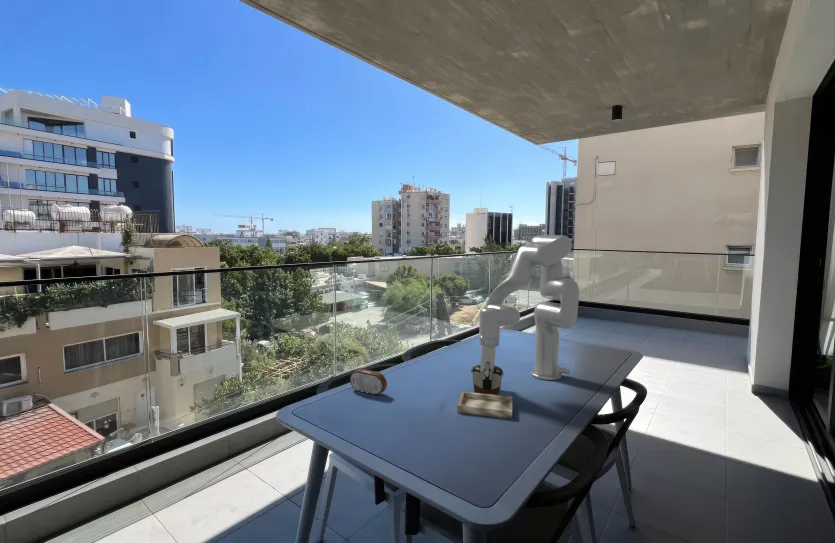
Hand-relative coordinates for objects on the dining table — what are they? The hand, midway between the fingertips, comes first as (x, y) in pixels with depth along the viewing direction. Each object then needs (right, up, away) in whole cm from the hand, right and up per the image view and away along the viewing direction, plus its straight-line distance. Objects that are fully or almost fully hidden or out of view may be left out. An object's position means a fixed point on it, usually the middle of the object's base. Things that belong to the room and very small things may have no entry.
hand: (487, 384), depth 148 cm
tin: (-45, -3, -1) cm, 46 cm away
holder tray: (-3, -4, -13) cm, 14 cm away
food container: (0, -3, 0) cm, 3 cm away
